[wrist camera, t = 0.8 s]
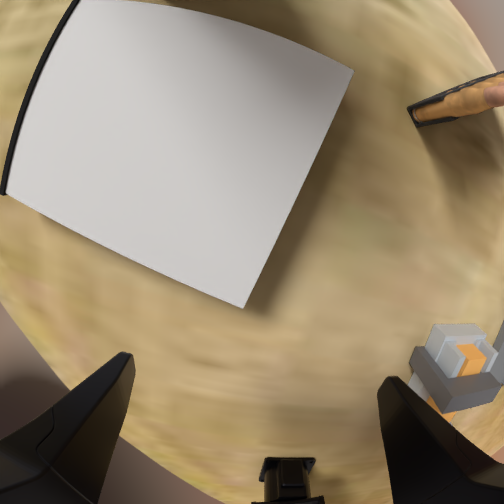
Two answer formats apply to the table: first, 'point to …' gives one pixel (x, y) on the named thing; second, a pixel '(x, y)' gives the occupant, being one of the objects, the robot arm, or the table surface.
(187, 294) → the table surface
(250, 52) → the disc drive
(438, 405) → the gray block
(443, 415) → the orange block
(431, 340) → the cradle
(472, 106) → the ammunition clip
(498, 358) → the tray
